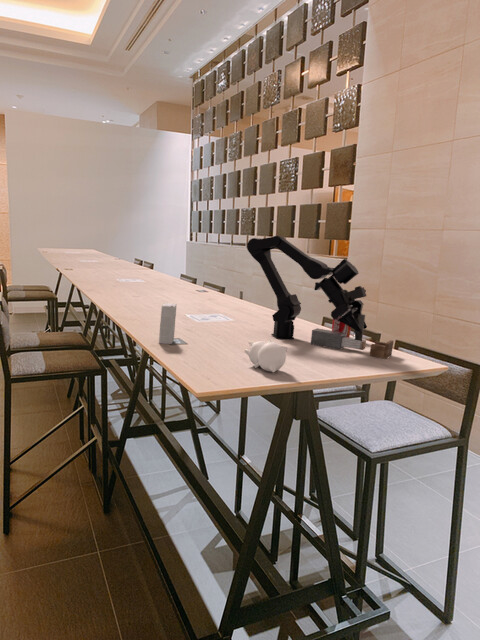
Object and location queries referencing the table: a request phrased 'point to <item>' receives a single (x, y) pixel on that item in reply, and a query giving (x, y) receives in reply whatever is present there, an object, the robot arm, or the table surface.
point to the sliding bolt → (355, 336)
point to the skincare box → (167, 323)
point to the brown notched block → (381, 349)
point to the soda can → (341, 327)
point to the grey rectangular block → (327, 338)
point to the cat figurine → (267, 355)
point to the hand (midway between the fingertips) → (362, 329)
